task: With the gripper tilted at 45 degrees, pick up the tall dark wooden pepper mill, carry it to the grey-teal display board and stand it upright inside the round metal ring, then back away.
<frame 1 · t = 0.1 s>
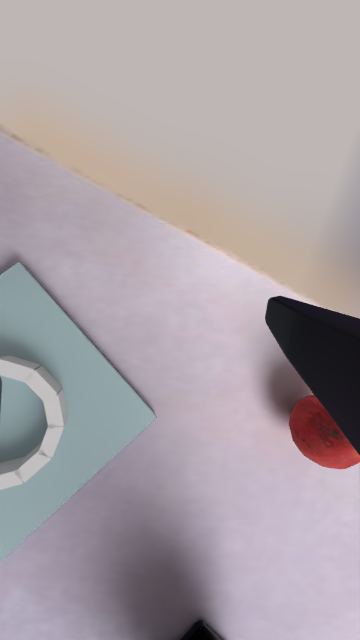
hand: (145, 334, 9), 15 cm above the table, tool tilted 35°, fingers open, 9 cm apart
display board: (8, 411, 22), on the table
onion: (297, 414, 28), on the table
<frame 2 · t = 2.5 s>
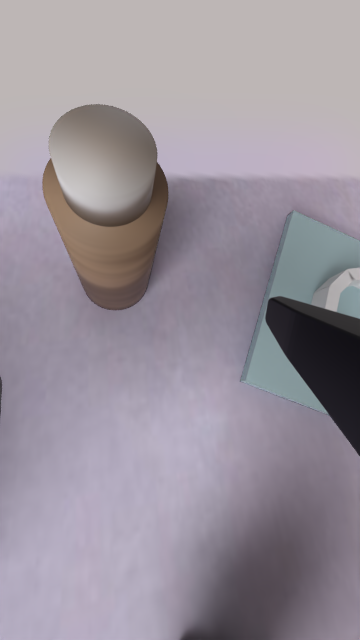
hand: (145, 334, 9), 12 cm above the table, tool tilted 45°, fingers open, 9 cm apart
display board: (346, 325, 25), on the table
pepper mill: (115, 279, 22), on the table
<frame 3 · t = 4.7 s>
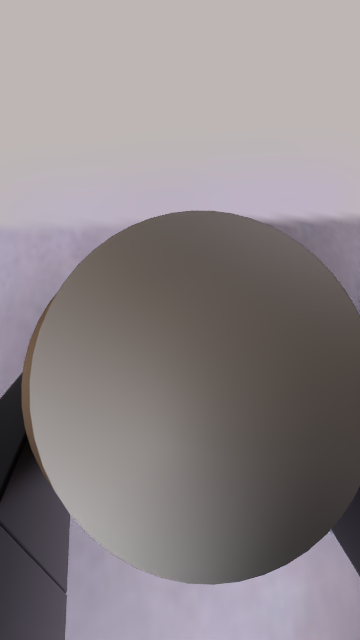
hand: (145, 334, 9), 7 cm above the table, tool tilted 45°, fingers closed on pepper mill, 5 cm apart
pepper mill: (142, 378, 15), on the table, touching gripper
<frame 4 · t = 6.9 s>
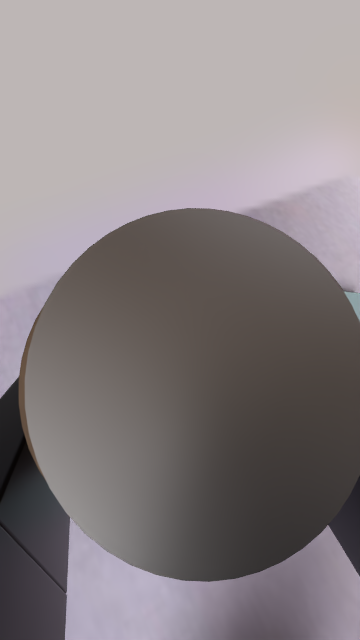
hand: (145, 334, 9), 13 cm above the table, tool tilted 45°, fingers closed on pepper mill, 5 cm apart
pepper mill: (141, 378, 15), point 7 cm above the table, touching gripper
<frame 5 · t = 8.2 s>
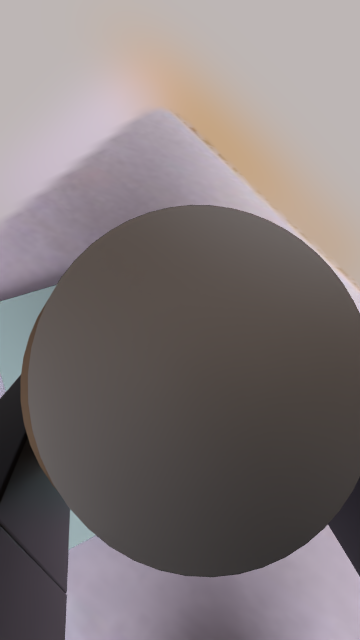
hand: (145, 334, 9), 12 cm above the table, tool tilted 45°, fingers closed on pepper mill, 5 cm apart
display board: (137, 376, 21), on the table
pepper mill: (142, 377, 15), point 6 cm above the table, touching gripper
when the fingers open (9 cm above the table, at t = 9.1 s): pepper mill drops 2 cm, resting on display board.
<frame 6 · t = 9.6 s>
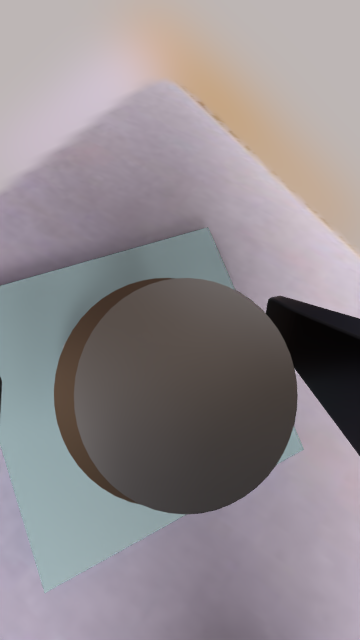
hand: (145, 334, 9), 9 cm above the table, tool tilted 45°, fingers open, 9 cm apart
display board: (139, 378, 18), on the table
pepper mill: (140, 379, 17), point 1 cm above the table, touching display board
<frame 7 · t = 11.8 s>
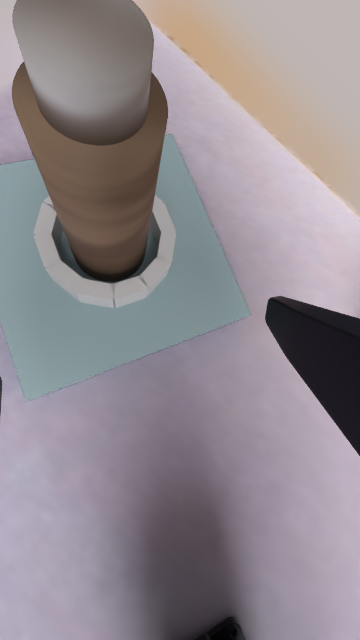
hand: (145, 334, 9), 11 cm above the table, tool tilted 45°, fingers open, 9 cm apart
display board: (110, 253, 21), on the table
pepper mill: (109, 248, 20), point 1 cm above the table, touching display board
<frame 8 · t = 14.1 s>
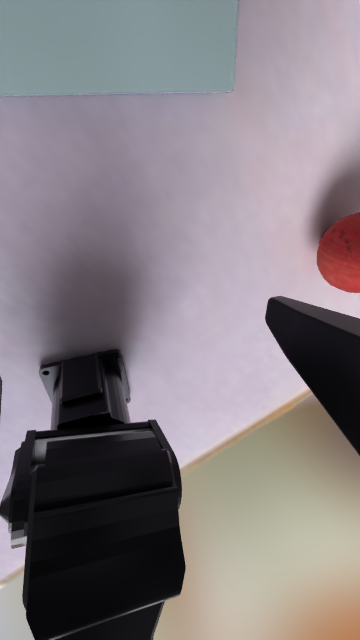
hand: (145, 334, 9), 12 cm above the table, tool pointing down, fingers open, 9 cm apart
onion: (323, 238, 25), on the table
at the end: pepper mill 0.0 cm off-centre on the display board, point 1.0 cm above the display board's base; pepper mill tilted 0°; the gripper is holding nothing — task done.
